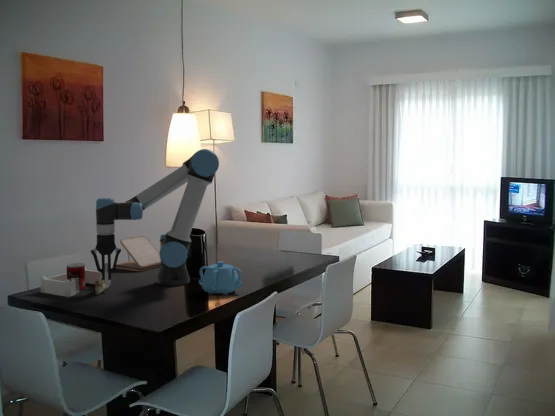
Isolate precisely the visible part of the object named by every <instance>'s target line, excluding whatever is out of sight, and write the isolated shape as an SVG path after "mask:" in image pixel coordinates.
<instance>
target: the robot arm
mask: <svg viewBox="0 0 555 416" xmlns="http://www.w3.org/2000/svg"><path fill="white" fill-rule="evenodd" d="M219 159H220V158H218V155H217V154H216V153H215V152H214V151H213V150H212V149H211V150H210V149H206V148H203V149H201V148H200V149H199V150H198V151H196V152H195V153H194V154H192V156H191V157H189V158H188V159H187V160H184V161H183V162H182V164H181V166H180V167H179V168H177V169H175V170H174V171H172V172H170V173H169V174H168V175H166V176H165V177H162V178H161V179H159V180H158V181H156V182H155V183H154V184H152V185H151V186H148V187H147V188H146V189H144V190H143V191H141V192H139V193H137V194H136V195H135V196H133V197H132V198H130V199H128V200H126V201H125V202H115V199H114V198H113V197H101V198H97V199H96V201H95V202H96V204H95V217H96V218H95V219H96V222H95V224H96V228H95V229H96V245H95V248H93V249H91V250H90V254H91V255H92V256H93V260H94V263H95V266H96V271H98V272H101V273H102V280H105V289H108V288H109V287H110V286H109V284H108V280H111V279H112V272H115V271H116V265H117V264H118V260H119V256H120V254H121V252H122V249H121V248H119V247H118V246H117V245H116V238H115V237H116V235H115V232H116V231H115V228H116V227H115V226H116V225H115V221H123V220H124V221H125V220H126V221H137V220H143V216H144V215H143V214H144V213H143V211H145V210H146V209H148V208H149V207H151V206H152V205H154V204H156V203H157V202H158V201H159V202H160V200H162V199H163V198H165V197H166V196H168V195H170V194H171V193H173V192H174V191H176V190H177V189H179V188H181V187H182V186H184V185H185V189H184V191H183V194H182V197H181V200H180V203H179V206H178V209H177V212H176V215H175V218H174V221H173V223H172V226H171V229H170V230H169V231H167V232H166V233H165V234H161V235H160V237H159V238H160V239H159V243H160V246H159V247H160V250H159V253H160V259H161V267H159V270H158V271H159V272H158V275H157V278H156V281H157V282H156V284H158V285H159V286H165V287H166V286H167V287H175V286H176V287H177V286H184V285H186V284H189V283H191V282H190V281H191V280H190V275H189V272H188V269H187V265H186V264H187V263H186V262H187V259H188V252H189V249H190V246H191V244H192V239H191V236H190V235H191V233H192V230H193V227H194V224H195V221H196V219H197V215H198V213H199V210H200V207H201V204H202V201H203V198H204V196H205V193H206V191H207V187H208V186H209V185H211V184H212V183H213V181H214V177H215V175H216V173H217V171H218V170H219V166H220V161H219ZM186 183H187V184H186ZM114 251H115V255H114V259H113V260H114V261H113V265H112V262H111V261H112V258H111V257H112V256H111V255H112V254H113V253H114ZM97 252H98V253H99V255H100V256H101V266H100V263H99V259H98V255H97ZM105 256H107V263H108V272H105V263H106V260H105V259H106V257H105Z"/></svg>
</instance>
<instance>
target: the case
mask: <svg viewBox="0 0 555 416" xmlns="http://www.w3.org/2000/svg"><path fill="white" fill-rule="evenodd" d="M120 244H121V245H122V247H123V248H124V249H125V251H126V253H127V254H128V255H129V256H130V257H131V259H132V260H130V261H126V262H121V263H117V264H116V268H115V270H116V269H118V270H122V271H123V270H125V271H132V272H137V273H138V272H144V271H150V270H154V269H157V268H160V267H161V259H160V251H159V250H158V249H157V248H156V247H155V245H154V244H153V243H152V242H151V241H150V240H149V239H148V237H146V236H144V235H141V236H140V235H139V236H133V237H128V238H122V239H120Z"/></svg>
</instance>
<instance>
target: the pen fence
mask: <svg viewBox="0 0 555 416" xmlns="http://www.w3.org/2000/svg"><path fill="white" fill-rule="evenodd" d="M100 277H102V273H101V272H98V271H97V270H93V269H92V270H91V269H87V267H86V266H85V284H91V285H95V281H97V280H98V279H99V278H100ZM103 283H104V282H103ZM40 293H41V294H50V295H54V296H60V297H65V298H70V297H73V296H75V295H76V294H77V293H76V286H75V281H70V280H67V272H66V273H61V274H58V275H53V276H48V277H46V275H42V276H41V275H40Z"/></svg>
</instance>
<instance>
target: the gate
mask: <svg viewBox="0 0 555 416" xmlns="http://www.w3.org/2000/svg"><path fill="white" fill-rule="evenodd" d="M103 282H104V283H103ZM94 287H95V295H96V296H97V295H98V296H99V295H100V294H101V293H102V292H104V290H105V289H106V288H105V280H102V277H100V278H99V279H98V280H97V281H95V284H94Z"/></svg>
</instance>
